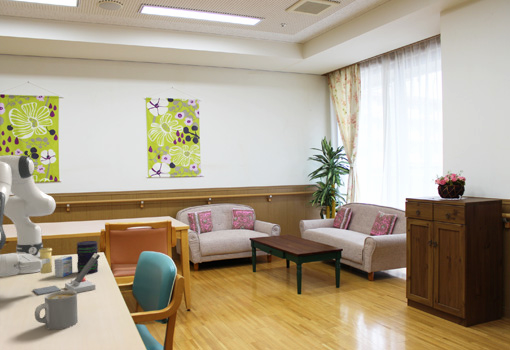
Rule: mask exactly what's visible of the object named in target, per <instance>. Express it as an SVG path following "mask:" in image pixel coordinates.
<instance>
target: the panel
mask: <svg viewBox="0 0 510 350" xmlns="http://www.w3.org/2000/svg"><path fill="white" fill-rule="evenodd" d="M75 279H76V278H73V279H70V281H69V282H65V283H64V288H65V289H67V291H75V292H77V294H78V293H83V292H90V291H92V290H93V291H94V290H96V284H95V283H93V282H91V281H90V280H88V279H86V277H84V278H83V279H82V281H81V282H80V285H79V286H76V285H75V284H73V283H72V281H73V280H75Z"/></svg>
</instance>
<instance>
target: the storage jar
mask: <svg viewBox="0 0 510 350" xmlns="http://www.w3.org/2000/svg"><path fill="white" fill-rule="evenodd" d="M98 249H99V247H98V241H97V240H85V241H79V242H78V241H77V242H76V255H77V262H76V267H77V275H79V273H80V272H81V271H82V269H83V268H84V267H85V265H86V264H87V263H88V261H89V260H90V259H91V258H92V256H93V255H94V253H96V254H99V252H98V251H99V250H98ZM98 268H99V259H98V260H97V261H96V262H95V264H94V265H93V266H92V268H91V269H90V270H89V272H88V273H87V274H86V275H92V274H96V273H98V271H99V269H98Z"/></svg>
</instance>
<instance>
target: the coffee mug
mask: <svg viewBox="0 0 510 350" xmlns="http://www.w3.org/2000/svg"><path fill="white" fill-rule="evenodd" d="M42 310H44V316H43V317H41V315H40V314H41V311H42ZM34 319H35V320H36V322H38V323H41V324H45V326H44V327H45V328H46V329H47V328H49V329H48V330H53V329H56V330H62V329H61V328H64V329H68V328H71V327H74V326H75V325H76V323H78V321H79V319H78V293H77V292H75V291H70V290H61V291H58V292H53V293H48V294H45V296H44V303H41V304H39V305H38V306H36V308H35V311H34ZM73 325H74V326H73ZM70 326H71V327H70ZM67 327H68V328H67Z"/></svg>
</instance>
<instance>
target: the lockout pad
mask: <svg viewBox="0 0 510 350" xmlns="http://www.w3.org/2000/svg"><path fill="white" fill-rule="evenodd" d="M32 291H33V292H34V293H35V294H36V295H37V296H42V295H47V294H50V293H53V292H58V291H62V289H61V288H59V287H58V286H57V285H49V286H45V287H39V288H33V289H32Z"/></svg>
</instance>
